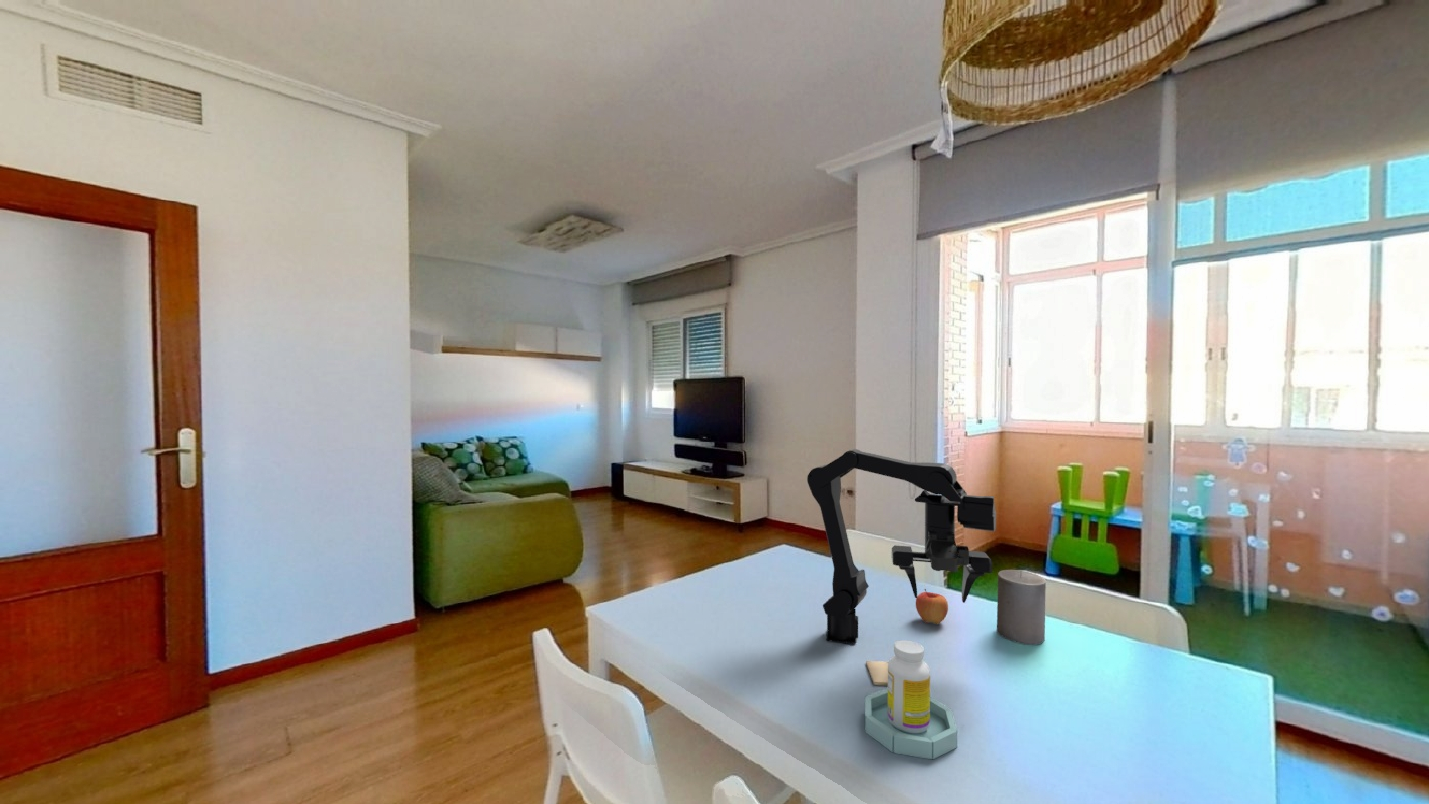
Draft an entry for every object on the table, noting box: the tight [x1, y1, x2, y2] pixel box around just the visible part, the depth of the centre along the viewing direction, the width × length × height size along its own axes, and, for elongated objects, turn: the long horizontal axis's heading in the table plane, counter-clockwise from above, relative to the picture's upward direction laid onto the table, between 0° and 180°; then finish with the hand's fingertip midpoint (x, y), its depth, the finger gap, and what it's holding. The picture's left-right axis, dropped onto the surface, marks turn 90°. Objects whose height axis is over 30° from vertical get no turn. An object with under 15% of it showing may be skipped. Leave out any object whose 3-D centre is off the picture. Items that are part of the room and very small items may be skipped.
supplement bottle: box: [887, 639, 931, 734], centre depth 88 cm, size 7×7×13 cm
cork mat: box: [865, 660, 889, 687], centre depth 105 cm, size 10×8×1 cm
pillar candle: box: [996, 569, 1047, 646], centre depth 122 cm, size 10×10×15 cm
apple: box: [915, 588, 949, 625], centre depth 129 cm, size 7×7×8 cm
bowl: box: [864, 687, 958, 760], centre depth 88 cm, size 14×14×3 cm
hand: (939, 599), depth 110 cm, fingers open, 9 cm apart
